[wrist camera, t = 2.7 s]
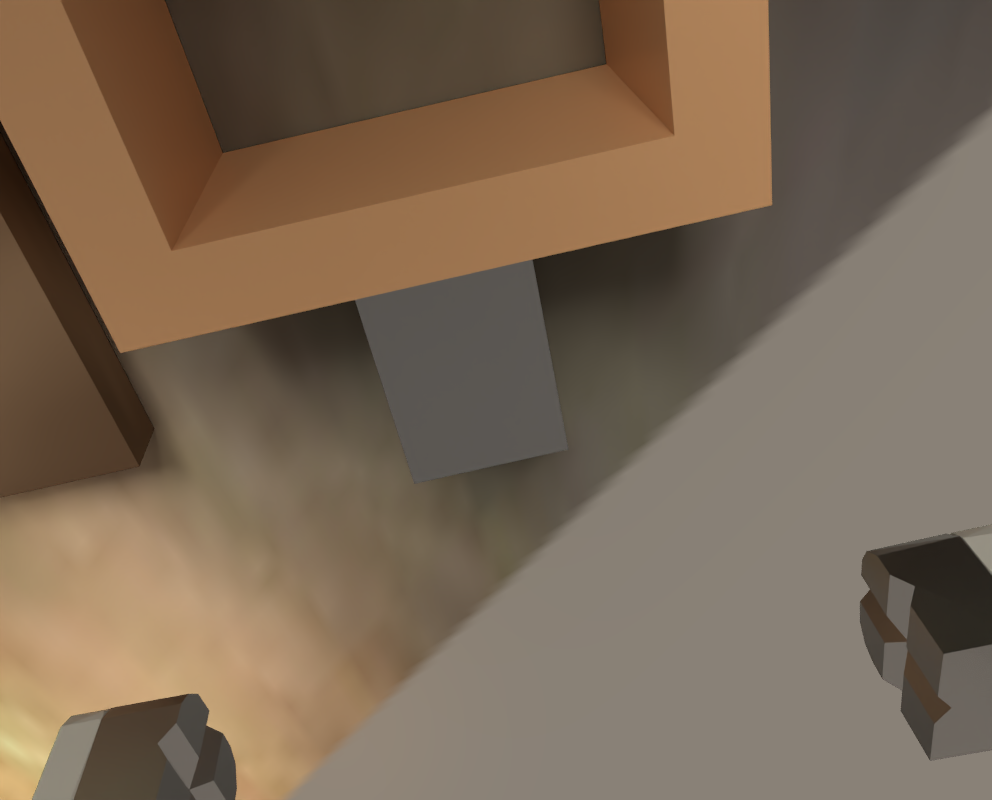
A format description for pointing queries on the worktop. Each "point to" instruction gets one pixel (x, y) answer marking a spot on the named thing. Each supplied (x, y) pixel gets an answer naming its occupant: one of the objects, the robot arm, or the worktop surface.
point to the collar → (385, 198)
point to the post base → (55, 361)
